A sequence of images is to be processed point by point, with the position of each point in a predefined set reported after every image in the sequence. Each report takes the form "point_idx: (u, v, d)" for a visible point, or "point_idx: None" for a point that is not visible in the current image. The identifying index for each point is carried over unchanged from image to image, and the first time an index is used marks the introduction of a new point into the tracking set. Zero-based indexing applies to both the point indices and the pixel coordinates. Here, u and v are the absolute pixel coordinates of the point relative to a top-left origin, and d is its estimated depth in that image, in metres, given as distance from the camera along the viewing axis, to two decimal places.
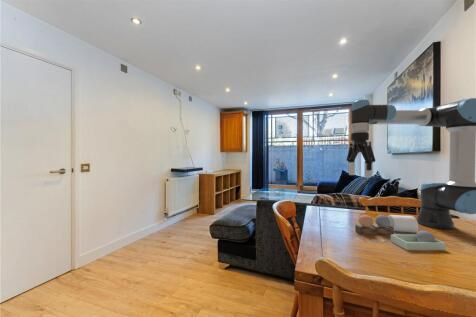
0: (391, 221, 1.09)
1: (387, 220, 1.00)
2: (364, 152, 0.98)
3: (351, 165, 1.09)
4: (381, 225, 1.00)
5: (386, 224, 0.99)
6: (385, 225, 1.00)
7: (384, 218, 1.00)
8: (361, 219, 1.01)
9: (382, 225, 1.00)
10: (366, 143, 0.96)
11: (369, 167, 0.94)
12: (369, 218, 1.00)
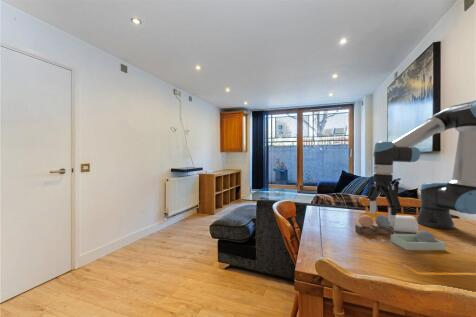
0: None
1: (387, 220, 1.00)
2: (388, 195, 0.97)
3: (372, 204, 1.09)
4: (381, 225, 1.00)
5: (386, 224, 0.99)
6: (385, 225, 1.00)
7: (384, 218, 1.00)
8: (361, 219, 1.01)
9: (382, 225, 1.00)
10: (391, 187, 0.95)
11: (394, 212, 0.94)
12: (369, 218, 1.00)
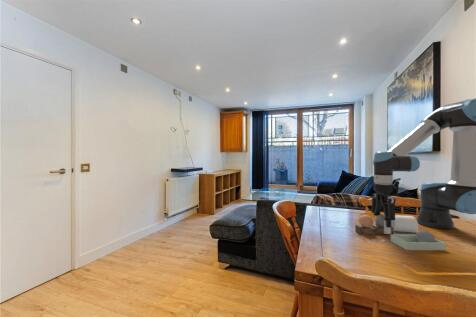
0: (391, 221, 1.09)
1: None
2: (386, 207, 0.99)
3: None
4: (381, 225, 1.00)
5: None
6: None
7: (384, 218, 1.00)
8: (361, 219, 1.01)
9: (382, 225, 1.00)
10: (390, 201, 0.96)
11: (389, 224, 0.97)
12: (369, 218, 1.00)
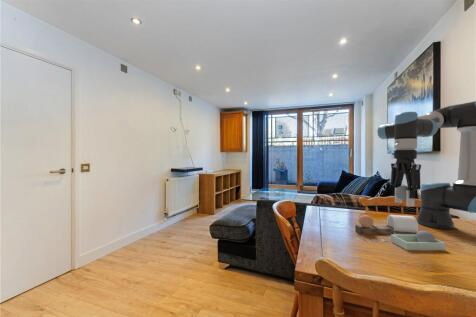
0: (391, 221, 1.09)
1: None
2: (409, 176, 0.85)
3: None
4: (403, 197, 0.87)
5: None
6: None
7: (406, 188, 0.87)
8: (361, 219, 1.01)
9: (404, 197, 0.87)
10: (415, 167, 0.82)
11: (412, 195, 0.84)
12: (369, 218, 1.00)
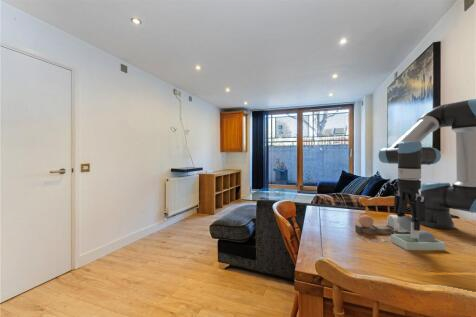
0: (391, 221, 1.09)
1: None
2: (413, 207, 0.84)
3: None
4: (407, 228, 0.85)
5: None
6: None
7: (411, 219, 0.85)
8: (361, 219, 1.01)
9: (408, 228, 0.85)
10: (420, 199, 0.80)
11: (417, 227, 0.82)
12: (369, 218, 1.00)
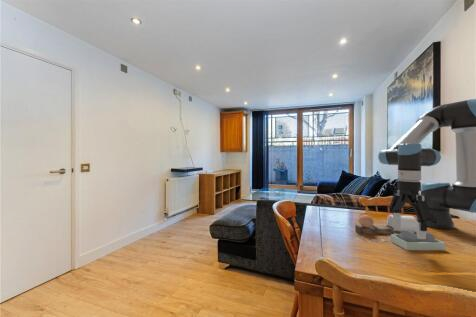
0: (391, 221, 1.09)
1: (414, 237, 0.85)
2: (416, 207, 0.82)
3: (396, 216, 0.93)
4: None
5: None
6: None
7: (410, 235, 0.85)
8: (361, 219, 1.01)
9: None
10: (421, 198, 0.80)
11: (424, 228, 0.79)
12: (369, 218, 1.00)
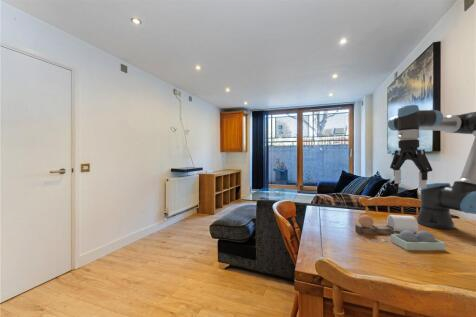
0: (391, 221, 1.09)
1: (414, 237, 0.85)
2: (417, 161, 0.93)
3: (397, 173, 1.04)
4: None
5: None
6: None
7: (410, 235, 0.85)
8: (361, 219, 1.01)
9: None
10: (420, 151, 0.91)
11: (425, 177, 0.89)
12: (369, 218, 1.00)
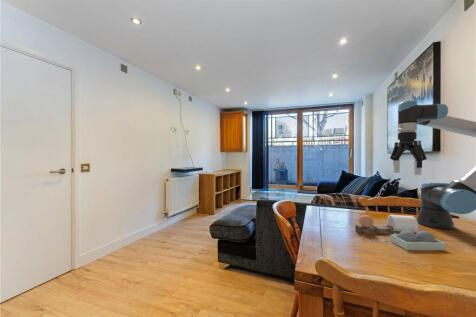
0: (391, 221, 1.09)
1: (414, 237, 0.85)
2: (413, 151, 1.03)
3: (396, 163, 1.14)
4: None
5: None
6: None
7: (410, 235, 0.85)
8: (361, 219, 1.01)
9: None
10: (416, 142, 1.01)
11: (420, 165, 0.99)
12: (369, 218, 1.00)
